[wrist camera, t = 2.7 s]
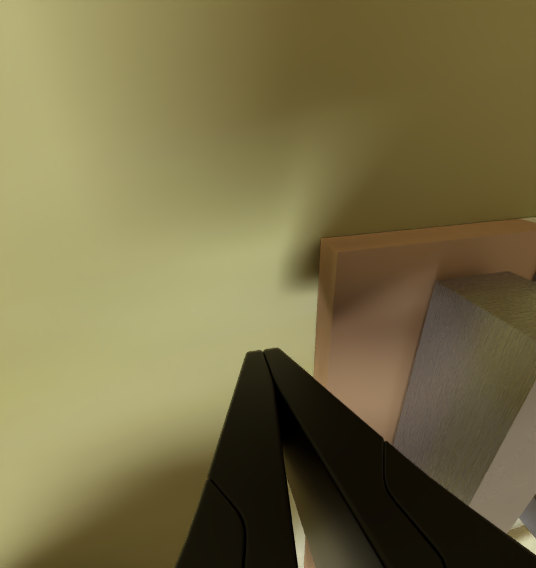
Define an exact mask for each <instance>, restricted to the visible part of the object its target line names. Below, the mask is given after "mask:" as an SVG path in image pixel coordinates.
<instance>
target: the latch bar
mask: <svg viewBox="0 0 536 568" xmlns="http://www.w3.org/2000/svg"><path fill="white" fill-rule="evenodd" d="M393 446H394V447H395V448H396V449H397V450H398V451H399V452H401V453H402V454H403V455H404V456H405V457H407V458H408V459H409V460H410V461H411V462H413V463H414V464H415V465H416V466H418V467H419V468H420V469H421V470H422V471H424V472H425V473H426V474H427V475H429V476H430V477H431V478H432V479H434V480H435V481H436V482H438V483H439V484H440V485H442V486H443V487H444V488H445V489H447V490H448V491H449V492H451V493H452V494H453V495H455V496H456V497H457V498H459V499H460V500H461V501H463V502H464V503H465V504H467V505H468V506H469V507H471V508H472V509H473V510H475V511H476V512H478V513H479V514H480V515H482V516H483V517H484V518H486V519H487V520H489V521H490V522H491V523H493V524H494V525H495V526H497V527H498V528H499V529H501V530H502V531H504V532H505V533H506V534H508V532H509V531H510V529H511V528H512V527H513V525H514V524H515V522H516V521H517V519H518V518H519V517H520V515H521V514H522V512H523V511H524V510H525V508H526V507H527V505H528V504H529V503H530V501H531V500H532V498H533V497H534V495H535V494H536V282H533V281H531V280H529V279H526V278H524V277H522V276H519V275H517V274H515V273H512V272H510V271H504V272H497V273H490V274H482V275H475V276H467V277H460V278H452V279H445V280H437V281H435V285H434V289H433V293H432V297H431V301H430V304H429V308H428V312H427V316H426V320H425V324H424V327H423V331H422V335H421V339H420V343H419V347H418V350H417V354H416V358H415V362H414V366H413V370H412V374H411V377H410V381H409V385H408V389H407V393H406V397H405V400H404V404H403V408H402V412H401V416H400V420H399V424H398V427H397V431H396V435H395V439H394V443H393Z"/></svg>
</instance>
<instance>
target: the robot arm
mask: <svg viewBox="0 0 536 568" xmlns="http://www.w3.org/2000/svg"><path fill="white" fill-rule="evenodd" d="M286 475H287V478H286ZM207 478H208V479H207V480H206V481H205V484H204V487H203V490H202V494H201V497H200V500H199V503H198V506H197V509H196V512H195V514H194V517H193V520H192V523H191V526H190V529H189V532H188V535H187V537H186V540H185V543H184V545H183V548H182V550H181V552H180V555H179V557H178V560H177V562H176V565H175V567H174V568H298V563H297V555H296V548H295V540H294V532H293V524H292V517H291V509H290V501H289V494H288V486H287V479H288V482H289V485H290V488H291V491H292V494H293V498H294V501H295V504H296V507H297V510H298V514H299V517H300V520H301V523H302V526H303V529H304V533H305V536H306V539H307V542H308V545H309V548H310V552H311V555H312V558H313V561H314V564H315V568H536V555H535V554H534V553H532V552H531V551H530V550H528V549H527V548H525V547H524V546H523V545H521V544H520V543H519V542H517V541H516V540H515V539H513V538H512V537H510V536H509V535H508V534H506V533H505V532H504V531H502V530H501V529H499V528H498V527H497V526H495V525H494V524H493V523H491V522H490V521H489V520H487V519H486V518H484V517H483V516H482V515H480V514H479V513H478V512H476V511H475V510H473V509H472V508H471V507H469V506H468V505H467V504H465V503H464V502H463V501H461V500H460V499H459V498H457V497H456V496H455V495H453V494H452V493H451V492H449V491H448V490H447V489H445V488H444V487H443V486H442V485H440V484H439V483H438V482H436V481H435V480H434V479H432V478H431V477H430V476H429V475H427V474H426V473H425V472H424V471H422V470H421V469H420V468H419V467H418V466H416V465H415V464H414V463H413V462H411V461H410V460H409V459H408V458H407V457H405V456H404V455H403V454H402V453H401V452H399V451H398V450H397V449H396V448H395V447H394V446H393V445H391V444H390V443H389V442H388V441H384V438H383V437H382V436H381V435H379V434H378V433H377V432H376V431H375V430H374V429H373V428H371V427H370V426H369V425H368V424H367V423H366V422H364V421H363V420H362V419H361V418H360V417H359V416H357V415H356V414H355V413H354V412H353V411H352V410H350V409H349V408H348V407H347V406H346V405H345V404H343V403H342V402H341V401H340V400H339V399H338V398H336V397H335V396H334V395H333V394H332V393H331V392H329V391H328V390H327V389H326V388H325V387H324V386H322V385H321V384H320V383H319V382H318V381H317V380H316V379H314V378H313V377H312V376H311V375H310V374H309V373H307V372H306V371H305V370H304V369H303V368H302V367H300V366H299V365H298V364H297V363H296V362H295V361H293V360H292V359H291V358H290V357H289V356H288V355H286V354H285V353H284V352H283V351H282V350H281V349H279V348H271V349H265V350H264V351H263V352H262V351H261V350H257V351H250V352H247V353H246V355H245V359H244V362H243V365H242V368H241V371H240V374H239V377H238V381H237V384H236V387H235V390H234V393H233V396H232V400H231V403H230V406H229V409H228V412H227V415H226V419H225V422H224V425H223V428H222V431H221V434H220V438H219V441H218V444H217V447H216V450H215V453H214V456H213V460H212V463H211V466H210V469H209V472H208V476H207Z"/></svg>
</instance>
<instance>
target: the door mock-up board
mask: <svg viewBox="0 0 536 568" xmlns="http://www.w3.org/2000/svg"><path fill="white" fill-rule="evenodd" d="M504 271H510V272H512V273H515V274H517V275H519V276H522V277H524V278H526V279H529V280H531V281H533V282H536V217H531V218H521V219H511V220H501V221H491V222H481V223H471V224H461V225H451V226H440V227H430V228H420V229H410V230H400V231H390V232H380V233H370V234H360V235H350V236H340V237H330V238H321V245H320V264H319V284H318V303H317V323H316V342H315V362H314V379H316V380H317V381H318V382H319V383H320V384H321V385H322V386H324V387H325V388H326V389H327V390H328V391H329V392H331V393H332V394H333V395H334V396H335V397H336V398H338V399H339V400H340V401H341V402H342V403H343V404H345V405H346V406H347V407H348V408H349V409H350V410H352V411H353V412H354V413H355V414H356V415H357V416H359V417H360V418H361V419H362V420H363V421H364V422H366V423H367V424H368V425H369V426H370V427H371V428H373V429H374V430H375V431H376V432H377V433H378V434H379V435H381V436H382V437H383V438H384V441H388V442H389V443H390V444H391V445H393V443H394V439H395V435H396V431H397V427H398V424H399V420H400V416H401V412H402V408H403V404H404V400H405V397H406V393H407V389H408V385H409V381H410V377H411V374H412V370H413V366H414V362H415V358H416V354H417V350H418V347H419V343H420V339H421V335H422V331H423V327H424V324H425V320H426V316H427V312H428V308H429V304H430V301H431V297H432V293H433V289H434V285H435V281H437V280H445V279H452V278H460V277H467V276H475V275H482V274H490V273H497V272H504ZM522 526H526V527H527V528H528V530H529V531H530V532H531V533H532V534H533V536H534V537H535V538H536V494H535V495H534V497H533V498H532V500H531V501H530V503H529V504H528V505H527V507H526V508H525V510H524V511H523V512H522V514H521V515H520V517H519V518H518V519H517V521H516V522H515V524H514V525H513V527H512V528H511V529H510V530H512V529H515V528H518V527H522ZM304 568H315V564H314V561H313V558H312V555H311V552H310V548H309V545H308V542H307V539H306V537H305V557H304Z"/></svg>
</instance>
